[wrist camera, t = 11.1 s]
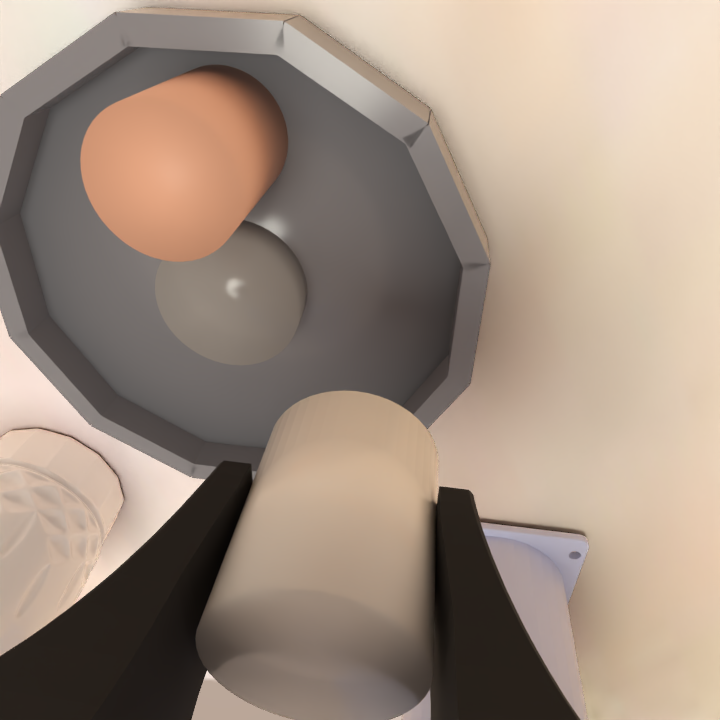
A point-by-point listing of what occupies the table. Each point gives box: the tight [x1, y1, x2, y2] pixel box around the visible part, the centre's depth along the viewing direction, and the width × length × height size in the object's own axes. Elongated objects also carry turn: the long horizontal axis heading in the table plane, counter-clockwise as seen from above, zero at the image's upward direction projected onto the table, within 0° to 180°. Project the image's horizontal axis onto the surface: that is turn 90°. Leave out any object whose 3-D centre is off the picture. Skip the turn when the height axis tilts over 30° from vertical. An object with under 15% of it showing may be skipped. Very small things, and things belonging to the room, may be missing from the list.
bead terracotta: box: [80, 65, 288, 262], centre depth 17 cm, size 4×4×5 cm
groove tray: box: [0, 7, 490, 480], centre depth 21 cm, size 17×17×2 cm
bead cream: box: [195, 391, 438, 720], centre depth 12 cm, size 4×4×5 cm
